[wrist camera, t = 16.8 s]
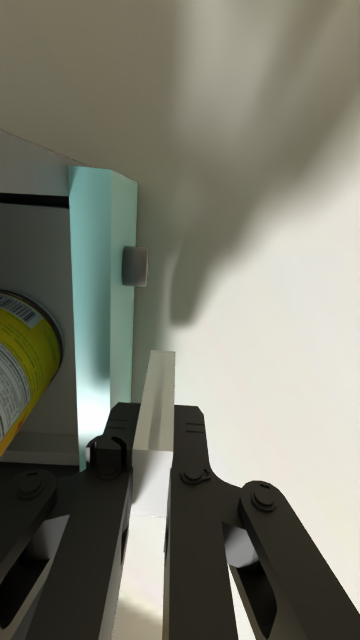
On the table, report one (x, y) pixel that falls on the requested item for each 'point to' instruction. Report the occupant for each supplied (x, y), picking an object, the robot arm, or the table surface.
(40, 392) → the supplement bottle
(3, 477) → the housing
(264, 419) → the table surface
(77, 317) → the teal drawer
